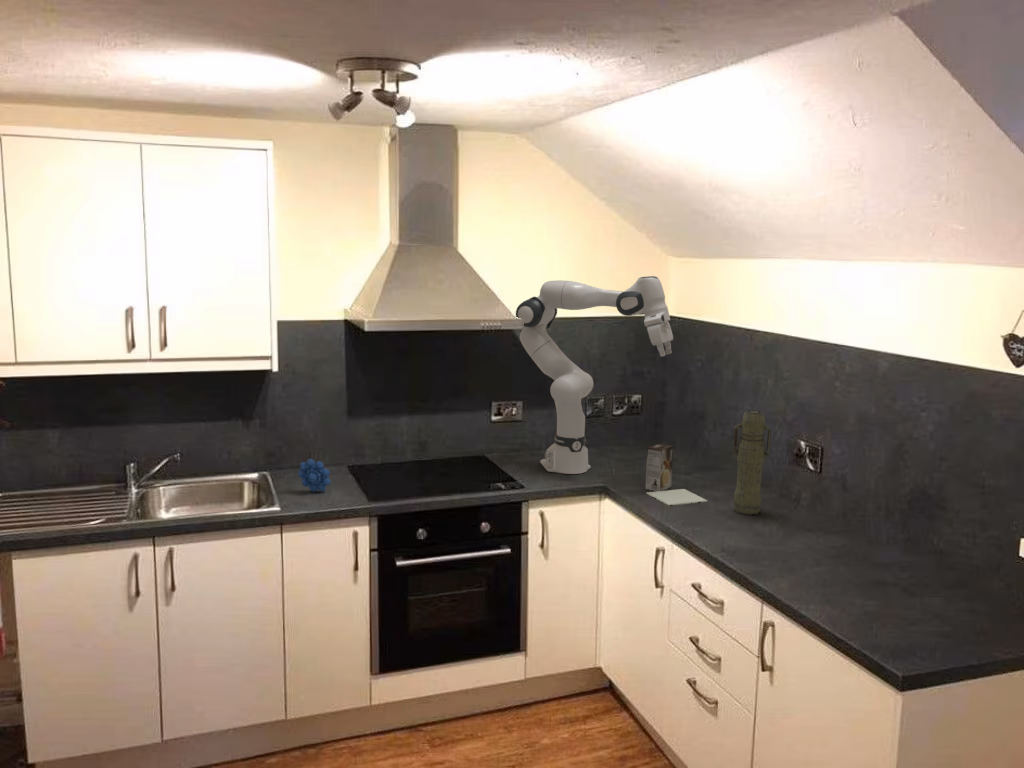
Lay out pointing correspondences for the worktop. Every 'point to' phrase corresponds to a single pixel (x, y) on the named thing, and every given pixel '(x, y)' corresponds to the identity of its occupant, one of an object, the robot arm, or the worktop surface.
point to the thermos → (750, 461)
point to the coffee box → (659, 467)
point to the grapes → (314, 475)
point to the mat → (676, 497)
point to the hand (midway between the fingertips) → (666, 355)
